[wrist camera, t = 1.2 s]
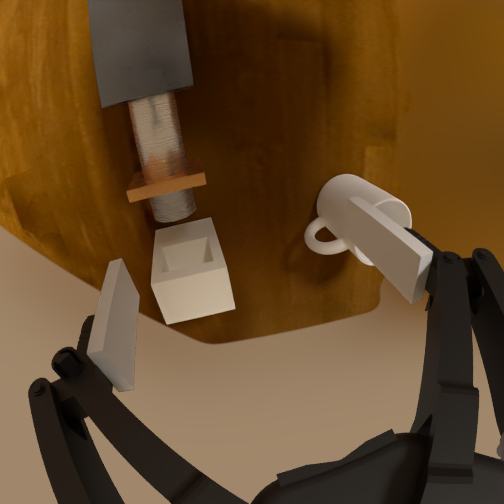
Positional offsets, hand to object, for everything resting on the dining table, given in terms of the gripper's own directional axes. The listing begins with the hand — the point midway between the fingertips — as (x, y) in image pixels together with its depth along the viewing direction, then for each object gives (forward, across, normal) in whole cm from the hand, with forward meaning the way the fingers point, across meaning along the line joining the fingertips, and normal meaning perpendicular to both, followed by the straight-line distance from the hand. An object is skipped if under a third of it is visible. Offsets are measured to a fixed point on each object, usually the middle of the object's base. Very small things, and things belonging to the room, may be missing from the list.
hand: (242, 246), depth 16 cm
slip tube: (+15, -4, +8) cm, 18 cm away
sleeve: (+20, -4, +14) cm, 25 cm away
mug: (+20, +15, -10) cm, 27 cm away
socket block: (+19, -5, -9) cm, 22 cm away
